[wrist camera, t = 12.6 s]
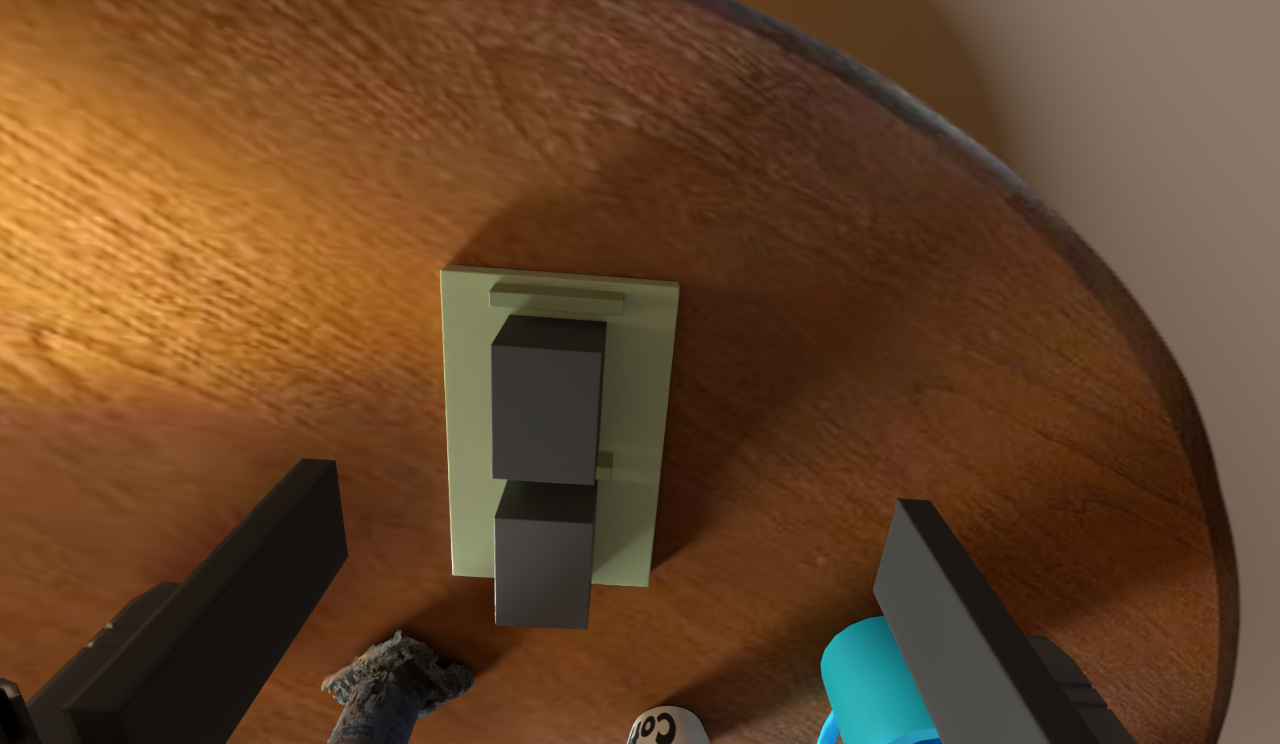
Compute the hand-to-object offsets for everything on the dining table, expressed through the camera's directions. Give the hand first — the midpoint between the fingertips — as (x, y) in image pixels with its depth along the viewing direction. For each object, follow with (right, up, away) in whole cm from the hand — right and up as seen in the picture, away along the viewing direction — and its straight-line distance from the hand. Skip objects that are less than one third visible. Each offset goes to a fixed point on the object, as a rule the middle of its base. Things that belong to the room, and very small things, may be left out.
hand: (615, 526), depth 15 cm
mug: (+16, -17, +29) cm, 37 cm away
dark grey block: (-4, +3, +19) cm, 20 cm away
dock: (-4, 0, +22) cm, 22 cm away
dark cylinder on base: (-16, -17, +29) cm, 37 cm away
